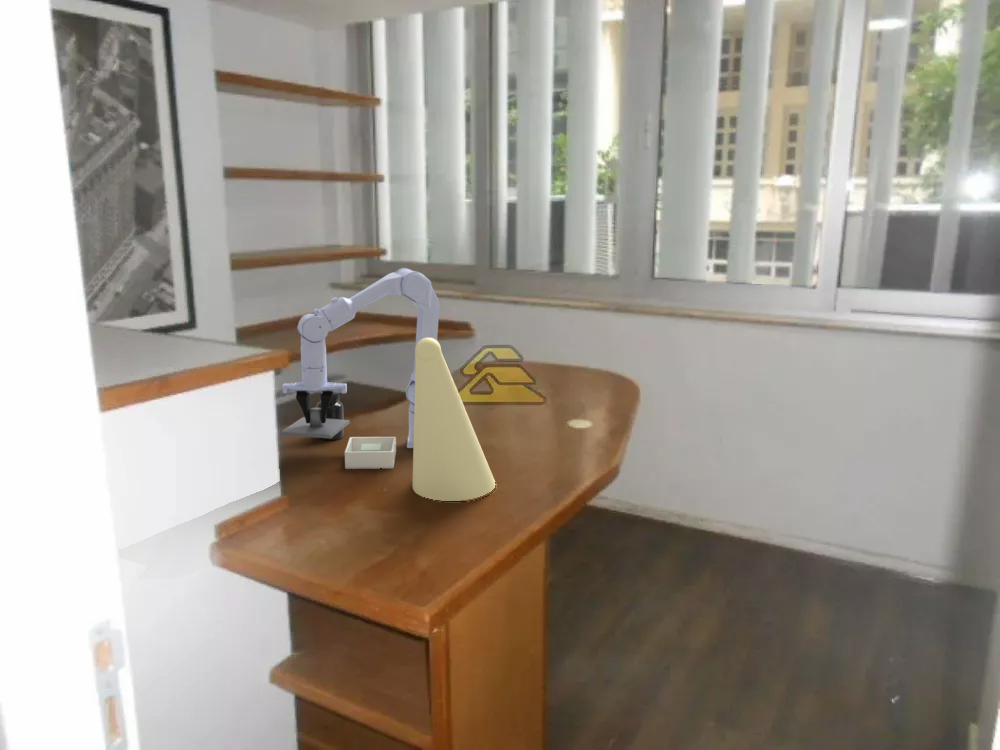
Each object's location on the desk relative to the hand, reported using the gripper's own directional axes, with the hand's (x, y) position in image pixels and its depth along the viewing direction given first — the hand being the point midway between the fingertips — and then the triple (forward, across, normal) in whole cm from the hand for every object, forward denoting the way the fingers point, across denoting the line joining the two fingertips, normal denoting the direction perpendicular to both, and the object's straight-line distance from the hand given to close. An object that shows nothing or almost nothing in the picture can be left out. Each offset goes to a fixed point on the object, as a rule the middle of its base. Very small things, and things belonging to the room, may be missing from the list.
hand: (316, 422), depth 178 cm
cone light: (+9, -31, +22) cm, 39 cm away
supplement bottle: (+9, -1, -15) cm, 17 cm away
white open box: (+9, -13, +3) cm, 16 cm away
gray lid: (+2, 0, 0) cm, 2 cm away
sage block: (+8, -13, +3) cm, 16 cm away
